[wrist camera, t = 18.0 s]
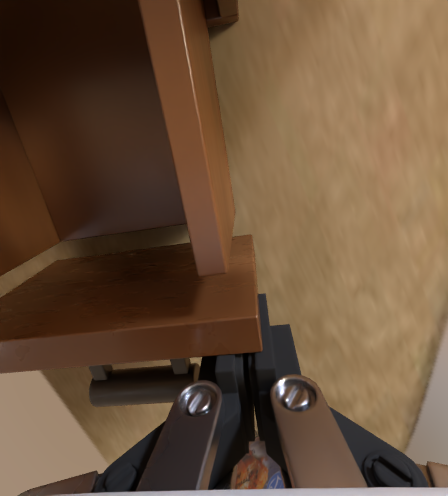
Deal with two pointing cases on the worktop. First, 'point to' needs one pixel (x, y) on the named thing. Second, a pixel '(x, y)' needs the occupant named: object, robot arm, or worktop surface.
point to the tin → (258, 469)
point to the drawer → (118, 196)
